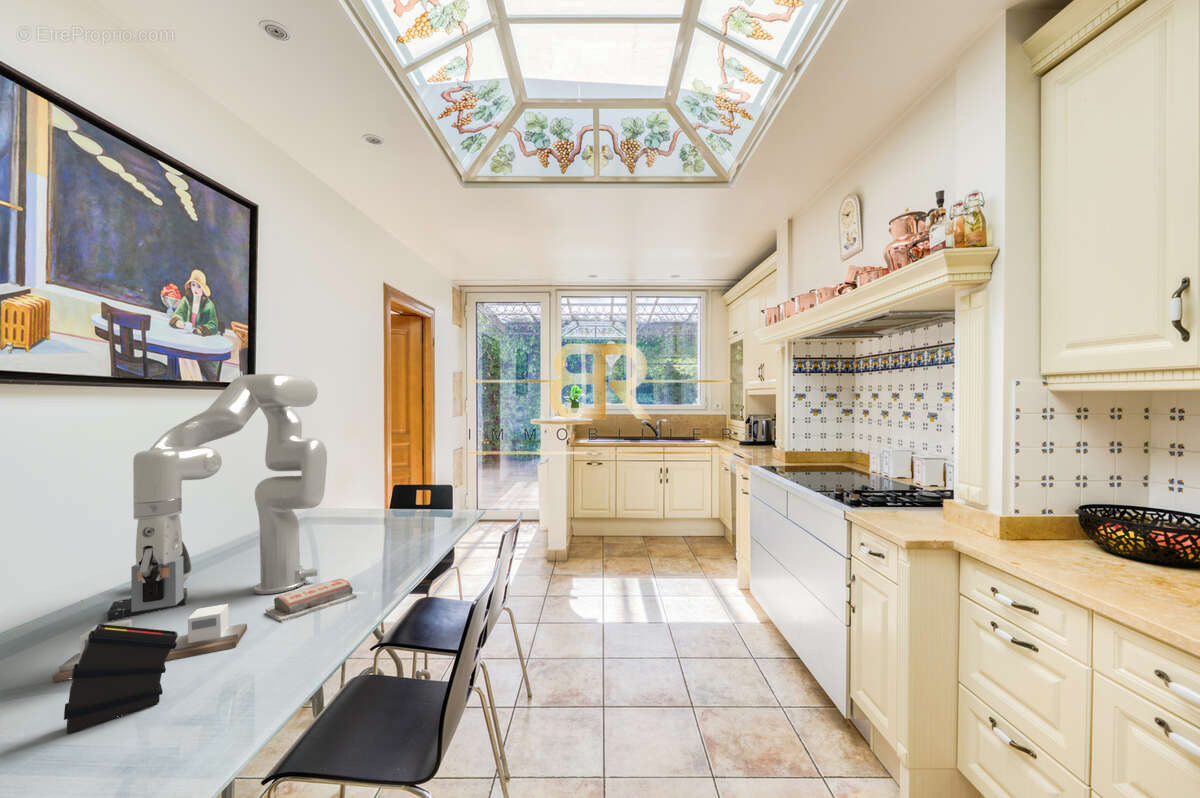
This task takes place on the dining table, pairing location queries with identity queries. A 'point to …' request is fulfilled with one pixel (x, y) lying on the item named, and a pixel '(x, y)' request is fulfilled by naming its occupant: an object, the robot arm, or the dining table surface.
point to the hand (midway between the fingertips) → (158, 595)
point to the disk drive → (124, 610)
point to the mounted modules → (189, 625)
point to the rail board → (176, 649)
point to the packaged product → (310, 599)
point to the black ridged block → (117, 674)
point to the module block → (171, 586)
